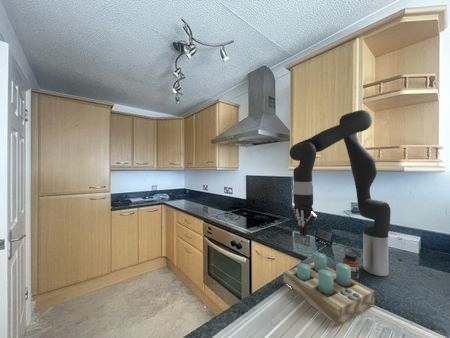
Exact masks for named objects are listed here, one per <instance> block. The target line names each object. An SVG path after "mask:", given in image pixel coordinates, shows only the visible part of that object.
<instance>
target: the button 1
mask: <svg viewBox="0 0 450 338" xmlns="http://www.w3.org/2000/svg"><path fill="white" fill-rule="evenodd" d="M307 264H308V263H307ZM307 264H306V263H302V262H300V263H297V265H296V268H297V278H299V279H300V280H302V281H303V282H306V281H308V280H310V266H309V265H307Z"/></svg>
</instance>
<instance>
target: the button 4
mask: <svg viewBox="0 0 450 338" xmlns="http://www.w3.org/2000/svg"><path fill="white" fill-rule="evenodd" d="M335 271H336V281H337V282H338V283H339V284H341V285H345V286H349V285H351V267H350V266H349V265H346V264H343V262H337V263H335Z"/></svg>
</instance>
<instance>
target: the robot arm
mask: <svg viewBox="0 0 450 338" xmlns="http://www.w3.org/2000/svg"><path fill="white" fill-rule="evenodd" d="M338 123H339V124H337V125H335V126H332V127H329V128H327V129H324V130H322V131H320V132H319V133H316V134H315V135H312V137H309V138H307V139H305V140H302V141H300V142H298V143H295V144H294V145H292V146H291V148H290V149H289V157H290V158H291V159H292V160H293V161H297V162H298V163H299V164H298V166H296V167H295V168H294V169H293V172H292V173H293V176H292V177H293V183H292V184H293V185H292V200H293V201H292V203H293V204H294V205H293V209H290V210H289V213H290V215H291V217H292V219H293V221H294V223H296V224H298V226H299V229H298V230H299V235H300V236H303V237H306V236H307V235H308V231H309V230H308V229H309V228H308V227H312V226H313V225H314V223H315V222H316V221H317V219H318V218H319V215H318V214H316V213H314V209H313V205H314V185H313V169H314V165H315V163H316V157H317V153H319V152H322V151H324V150H326V149H328V148H330V147H331V146H333V145H334V144H336V143H338V142H340V141H341V140H343V141H344V144H345V148H346V151H347V155H348V158H349V163H350V169H351V173H352V176H353V177H352V178H353V181H354V185H355V190H356V191H355V192H356V199H357V209H358V212H359V214H360V216H361V217H362V218H366V219H369V220H372V221H373V224H371V225H370V224H369V225H365V226H363V228H362V230H363V231H362V234H363V235H362V237H363V238H362V239H363V240H362V243H363V247H362V251H363V252H362V254H363V256H362V257H363V260H362V261H363V263H362V264H363V265H362V266H363V267H362V268H363V270H365V272H367V273H369V274H371V275H375V276H377V277H387V276H389V232H390V226H391V214H392V213H391V212H392V211H391V207H390V205H389V203H387V202H386V201H383V200H377V199H376V200H375V199H372V197H371V187H372V184H373V182H374V180H375V179H376V176H377V175H378V174H377V173H378V172H377V171H378V170H377V166H376V161H375V159H374V157H373V155H372V154H371V153H370V151H368V149H366V147H364V146H363V144H362V142H361V141H360V139H359V136H358V133H361V132H364V131H366V130H368V129H369V128H371V126H372V123H373V116H372V114H371V112H369V111H367V110H364V109H361V110H355V111H352V112H349V113H345V114H343V115H342V116H340V119H339V121H338Z"/></svg>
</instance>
